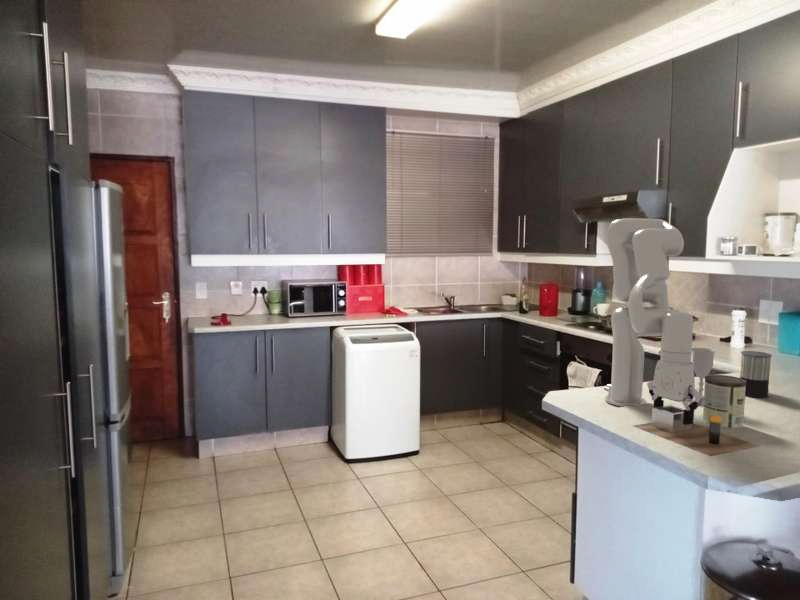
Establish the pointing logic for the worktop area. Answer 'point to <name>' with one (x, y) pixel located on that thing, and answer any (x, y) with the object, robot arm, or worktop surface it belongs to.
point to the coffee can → (725, 399)
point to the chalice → (702, 365)
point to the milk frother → (756, 373)
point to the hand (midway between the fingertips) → (672, 419)
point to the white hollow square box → (669, 418)
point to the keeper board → (700, 439)
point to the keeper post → (714, 429)
